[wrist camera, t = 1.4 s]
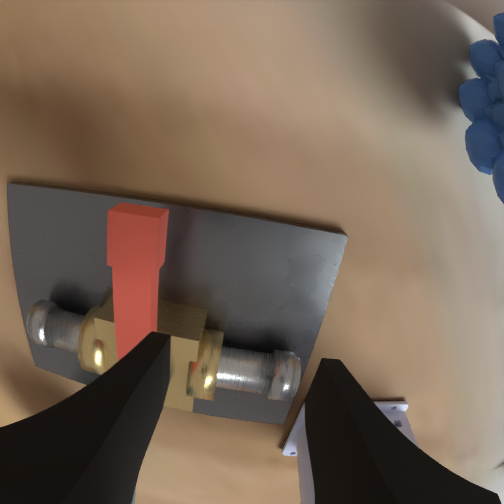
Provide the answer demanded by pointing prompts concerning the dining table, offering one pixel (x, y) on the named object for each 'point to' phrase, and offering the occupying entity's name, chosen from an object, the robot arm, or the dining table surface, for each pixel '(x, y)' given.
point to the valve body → (177, 297)
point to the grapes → (486, 106)
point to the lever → (135, 269)
